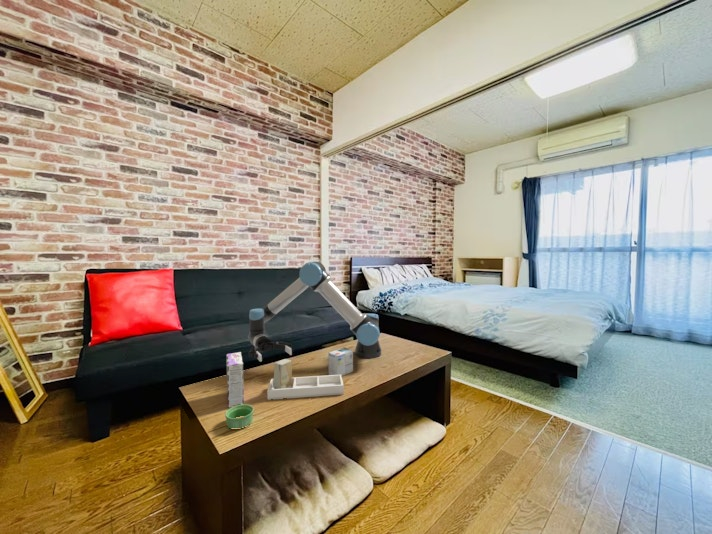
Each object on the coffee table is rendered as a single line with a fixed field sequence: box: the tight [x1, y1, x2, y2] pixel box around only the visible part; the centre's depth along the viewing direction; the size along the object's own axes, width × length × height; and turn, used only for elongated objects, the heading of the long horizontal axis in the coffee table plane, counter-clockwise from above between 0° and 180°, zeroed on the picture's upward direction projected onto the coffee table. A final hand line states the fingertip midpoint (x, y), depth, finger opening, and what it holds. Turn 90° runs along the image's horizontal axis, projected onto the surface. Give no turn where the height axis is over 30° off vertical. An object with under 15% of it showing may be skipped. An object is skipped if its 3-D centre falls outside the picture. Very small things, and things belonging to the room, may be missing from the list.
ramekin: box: [224, 403, 255, 429], centre depth 99 cm, size 9×9×4 cm
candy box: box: [226, 351, 245, 408], centre depth 115 cm, size 14×6×16 cm, turn 24°
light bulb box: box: [327, 347, 354, 377], centre depth 140 cm, size 11×7×11 cm, turn 134°
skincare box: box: [273, 358, 293, 389], centre depth 120 cm, size 6×4×12 cm
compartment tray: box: [266, 374, 345, 401], centre depth 122 cm, size 30×11×4 cm, turn 98°
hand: (276, 355), depth 129 cm, fingers open, 13 cm apart
